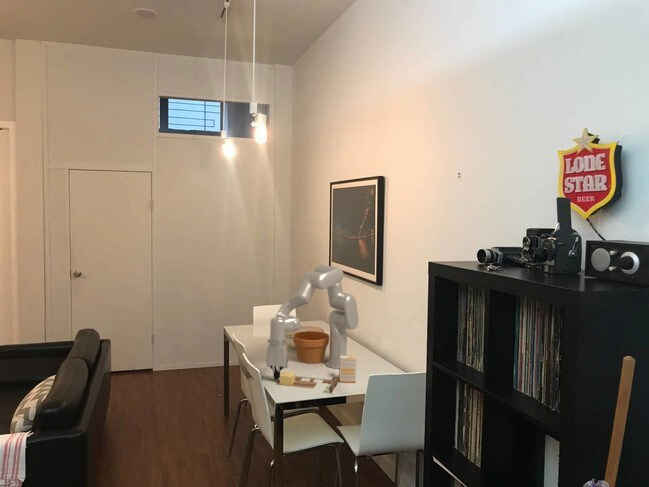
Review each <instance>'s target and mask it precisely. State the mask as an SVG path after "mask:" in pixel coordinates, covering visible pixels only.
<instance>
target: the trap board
mask: <svg viewBox="0 0 649 487" xmlns="http://www.w3.org/2000/svg"><path fill="white" fill-rule="evenodd" d="M303 378H304V379H308V377H305V376H296V375H295V382H294V383H293V384H292V385H286V384H280V379H278V380H277V382H276V383H275V385H277V386H285V387H286V386H287V387H295V388H305V389H312V390H313V389H314V388H316V386H317V384H318V382H316V381H315V380H318V378H316V377H315V378H314V377H309V379H310V380H309V381H307V380H302V379H303ZM319 380H322V382H321V384H327V386H325V388H324V390H323V391H322V394H323V393H324V394H333V392H334V390H335V389H336V387H337V385H338V384H339V383H338V381H339V377H338V376H335V378H334V379H325V378H319Z"/></svg>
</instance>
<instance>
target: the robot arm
mask: <svg viewBox="0 0 649 487" xmlns="http://www.w3.org/2000/svg"><path fill="white" fill-rule="evenodd" d="M343 278H344V271H343V270H342V268H340V267H338V266H337V267H336V266H330V265H324V264H323V265H320V264H319V265H317V266H316V267H315V268H314V271H307V272H306V273H304V275H303V277H302V279H301V281H300V283H299V285H298V286H297V289H296V290H295V293H294V295H292V296H291V297H289V298H288V299H287V300H285V302H284V303H282V304H281V305H280V307H279V309H278V311H277V313H276V314H275V315H276V316H275V317H272V318H271V319H270V327H269V328H270V332H269V333H270V334H269V336H270V338H269V339H267V343H268V346H267V350H266V358H265V363H266V367H268V368H270V369H271V370H272V372H273V380H275V381H279V380H280V375H281V371H282V370H285V369H287V368H288V367H289V366H288V361H289V360H288V347H287V345H286V332H288V333H289V332H292V333H293V332H296V331H298V330H299V329H300V328H301V325H302V323H301V320H300V319H299V317H297V316H292V315H290V314H291V312H292V311H293V310H295V309H296V308H299V307H302V306H305V305H307V304H309V303H310V301H311V299H312V296H314V292H315V291H316V289H318V290H325V289H326V290H327V296H328V303H329V306H330V308H332V309H334V310H331V312H330V313H329V316H328V323H329V332H330V333H329V354H328V355H329V356H328V357H329V358H328V360H329V361H327V362H326V367H328V368H330V369H331V368H332V369H339V368H340V355H347V344H348V334H347V330H351V331H352V330H355V329H356V328H357V327H358V325H359V312H358V306H357V304H358V303H357V300H356V297H355V296H354V295H352V294H351V293H345V292H344V290H343V284H342V281H343Z"/></svg>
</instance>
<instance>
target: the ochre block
mask: <svg viewBox="0 0 649 487" xmlns="http://www.w3.org/2000/svg"><path fill="white" fill-rule="evenodd" d="M295 376H296V373H295V372H284V371H283V372H282V373H280V378H279V380H280V384H286V385H292V384H293V383H294V382H295Z"/></svg>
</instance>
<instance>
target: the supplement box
mask: <svg viewBox="0 0 649 487" xmlns="http://www.w3.org/2000/svg"><path fill="white" fill-rule="evenodd" d="M338 369H339V371H338V372H339V374H338V376H339V377H338V381H339V383H351V384H352V383H356V376H357V375H356V374H357V372H356V371H357V356H356V355H355V354H354V355H350V354H349V355H348V354H346V355H340V368H338Z"/></svg>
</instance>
